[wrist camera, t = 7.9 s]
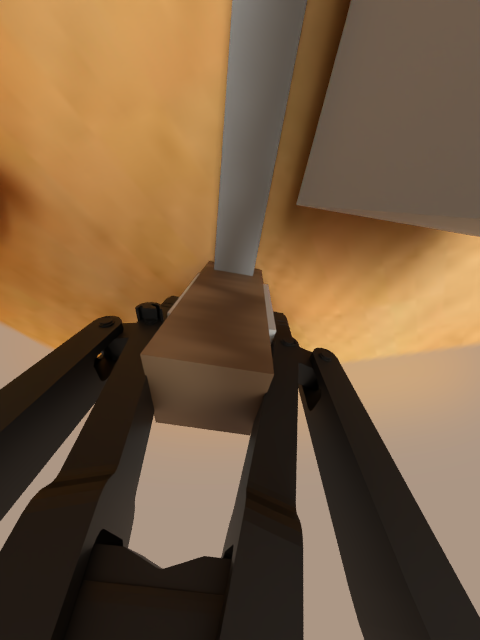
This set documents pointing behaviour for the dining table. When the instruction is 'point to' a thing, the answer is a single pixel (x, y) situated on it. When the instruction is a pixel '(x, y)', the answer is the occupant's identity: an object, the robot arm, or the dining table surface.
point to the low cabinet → (402, 117)
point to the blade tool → (232, 242)
